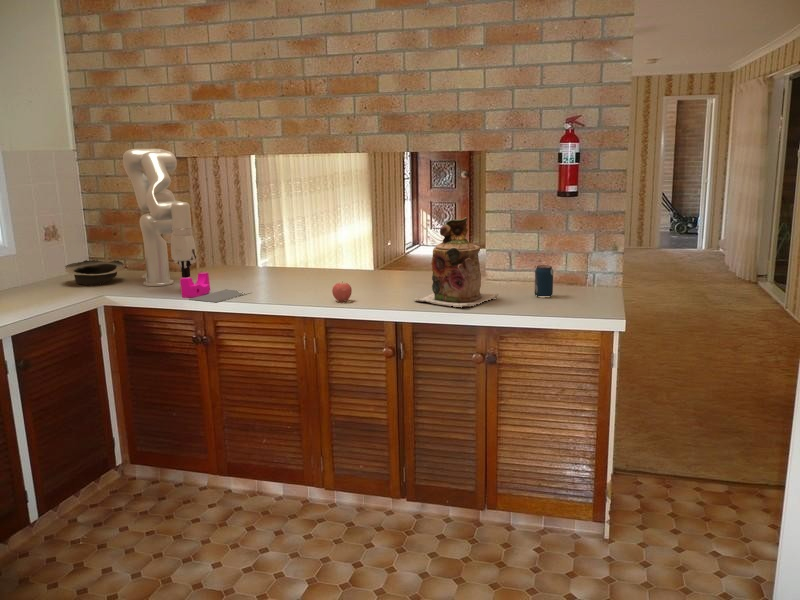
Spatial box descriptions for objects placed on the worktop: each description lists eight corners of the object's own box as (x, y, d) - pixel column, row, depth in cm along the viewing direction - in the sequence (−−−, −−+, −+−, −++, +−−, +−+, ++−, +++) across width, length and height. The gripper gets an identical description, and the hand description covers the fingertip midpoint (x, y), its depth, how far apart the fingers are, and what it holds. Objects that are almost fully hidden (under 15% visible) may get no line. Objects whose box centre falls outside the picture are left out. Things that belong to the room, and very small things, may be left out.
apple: (354, 299, 273) (353, 279, 271) (348, 303, 266) (348, 282, 264) (336, 299, 274) (335, 279, 273) (330, 302, 267) (329, 282, 266)
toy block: (195, 297, 280) (193, 278, 278) (182, 297, 281) (179, 279, 280) (215, 290, 294) (213, 272, 292) (202, 290, 295) (200, 273, 294)
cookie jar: (449, 292, 286) (449, 213, 279) (501, 299, 270) (502, 216, 264) (411, 302, 267) (410, 218, 260) (465, 310, 252) (465, 221, 245)
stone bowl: (98, 275, 334) (97, 256, 332) (137, 283, 324) (136, 263, 322) (53, 283, 312) (52, 263, 310) (93, 292, 302) (92, 271, 300)
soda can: (555, 296, 274) (557, 266, 271) (546, 299, 269) (547, 268, 266) (540, 294, 278) (541, 264, 276) (530, 296, 274) (531, 266, 271)
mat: (188, 299, 276) (188, 299, 276) (226, 290, 296) (226, 289, 295) (216, 302, 270) (216, 301, 270) (252, 292, 289) (252, 291, 289)
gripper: (162, 233, 286) (166, 277, 289) (189, 234, 279) (193, 279, 283) (175, 231, 293) (179, 274, 296) (202, 232, 286) (206, 276, 289)
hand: (186, 276), depth 289 cm, fingers closed
